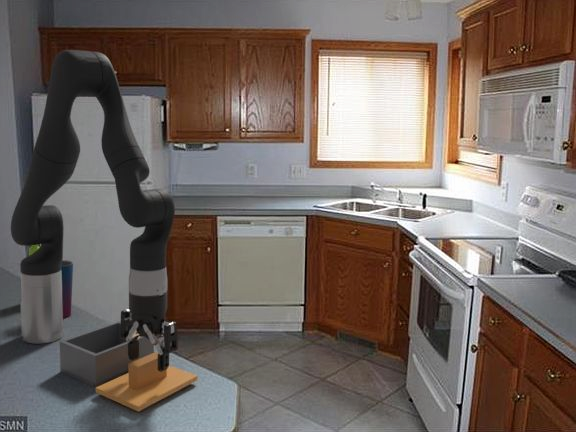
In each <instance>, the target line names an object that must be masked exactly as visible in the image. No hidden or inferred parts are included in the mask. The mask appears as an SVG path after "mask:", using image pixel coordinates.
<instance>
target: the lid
mask: <svg viewBox="0 0 576 432" xmlns="http://www.w3.org/2000/svg"><path fill="white" fill-rule="evenodd" d="M158 354H159V353H158V351H157V350H156V351H154V353H152V354H150V355H147V356H145V357H143V358H141V359H138V360H136V361H134V362H131V363H129V364H128V369H129V373H127V374H125V375H123V376H120V377H118V378H116V379H114V380H111V381H109V382H107V383H105V384H103V385H100V386H98V387H96V388H95V393H97V395H98V394H99V395H100V396H103V397H105V398H107V399H110V400H112V401H113V402H114V401H115V402H116V403H119V404H121V405H123V406H125V407H127V408H130V409H131V410H134V411H136V412H140V411H142V410H144V409H146V408H148V407H150V406H152V405H153V404H155V403H157V402H159V401H161V400H162V399H165V398H167V397H169V396H171V395H172V394H175V393H176V392H178V391H180V390H182V389H183V388H185V387H187V386H190V385H191V384H193V383H195V382H196V381H198V375H196V374H194V373H191V372H189V371H185V370H183V369H180V368H178V367H175V366H172V365H170V364H169V367H168V368H167V369H166V370H164V371H162V372H160V371H158Z"/></svg>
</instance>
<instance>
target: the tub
mask: <svg viewBox="0 0 576 432" xmlns="http://www.w3.org/2000/svg"><path fill="white" fill-rule="evenodd" d="M120 324H121V320H119V321H115V322H112V323H109V324H107V325H103V326H101V327H97V328H95V329H92V330H89V331H86V332H83V333H79V334H77V335H74V336H70V337H68V338H65V339H63V340H59V361H60V362H59V363H60V364H59V365H60V368H59V369H60V373H62V374H65V375H67V376H70V377H72V378H74V379H75V380H77V381H79V382H82V383H85V384H87V385H89V386H91V387H94V388H95V389H96V387H98V386H100V385H103V384H105V383H107V382H109V381H111V380H114V379H116V378H118V377H120V376H123V375H125V374H127V373H129V369H128V364H129V363H131V362H134V361H136V360H138V359H141V358H143V357H145V356H147V355H150V354H152V353H154V352H155V345H153V344H152V343H151V341H150V339H147V338H146V337H141V336H140V337H139V339H138V341H139V357H138V358H137V359H134V360H130V359H129V356H128V343H127V341H126V339H125V338H122V337H121V336H120ZM126 330H128V326H127V327H126Z"/></svg>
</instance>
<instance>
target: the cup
mask: <svg viewBox="0 0 576 432" xmlns="http://www.w3.org/2000/svg"><path fill="white" fill-rule="evenodd" d="M61 273H62V308H63V319H66V318H70V317H72V316H71V315H72V301H73V300H72V298H73V278H74V277H73V273H74V262H73V261H71V260H63V259H62V263H61Z"/></svg>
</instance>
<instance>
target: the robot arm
mask: <svg viewBox="0 0 576 432" xmlns="http://www.w3.org/2000/svg"><path fill="white" fill-rule="evenodd" d="M51 65H52V66H51V69H50V74H49V79H48V80H49V81H48V88H47V95H46V101H45V107H44V112H43V116H42V120H41V123H40V127H39V131H38V135H37V137H36V141H35V144H34V147H33V152H32V154H31V159H30V165H29V168H28V171H27V176H26V178H25V182H24V185H23V188H22V190H21V193H20V196H19V197H18V201H17V203H16V205H15V207H14V210H13V213H12V216H11V221H10V234H11V237H12V240H13V241H14V242H15V243H16V244H17V245H19V246H22V247H24V246H25V247H26V246H27V247H28V246H30V247H31V246H32V245H37V244H38V245H40V246H39V247H40V248H39V249H38V250H37V251H36V252H34V253H33V254H31V255H29V254H28V256H26V257H24V258H23V259H22V260H20V261H21V262H20V264H19V266H20V267H19V268H20V284H21V285H20V287H21V299H20V324H21V337H22V340H23V341H24V342H25V343H27V344H28V343H29V344H34V345H35V344H37V345H38V344H48V343H52V342H56V341H57V340H60V339H61V338H63V336H64V325H63V324H64V321H63V320H64V318H63V308H62V273H61V263H62V260H63V258H64V219H63V215H62V212H61V210H60V209H59V207H57V206H56V205H45V203H46V202H47V201H48V200H49V198H51V196H53V195H54V194H55V193H56V192H57V191H59V190H60V189H62V188H63V186H64V185H65V184H66V183H67V182H68V181H69V180H70V179H71V177H72V175H73V174H74V173H75V169H76V166H77V163H78V160H79V156H80V153H81V142H80V140H79V137H78V135H77V132H76V130H75V128H74V126H73V123H72V119H71V116H72V115H71V114H72V110H73V105H74V102H75V101H76V99H77V98H95V99H97V101H98V103H99V104H100V106H101V108H102V111H103V115H104V116H103V126H102V133H101V140H100V141H101V151H102V154H103V156H104V159H105V162H106V163H107V165H108V168H109V171H110V172H111V174H112V177H113V179H114V182H115V189H116V195H117V201H118V209H119V214H120V215H121V218H122V219H123V220H124V222H125V223H127V224H128V225H129V226H131V227H133V228H140V229H141V228H144V230H143V233H142V234H140V235H139V236H137V237H135V238H133V240H131V242H130V246H129V274H128V308H126V309H123V310H121V311H120V322H121V324H120V336H121V337H122V338H125V339H126V341H127V343H128V356H129V359H130V360H134V359H137V358H138V357H139V341H138V339H139V337H140V336H141V337H146V338H147V339H150V341H151V343H152V344H153V345H154V348H156V352H157V351H158V353H159V354H158V371H160V372H162V371H164V370H166V369H167V368H168V367H169V365H170V354H171V353H174V352H176V351H178V348H179V347H178V324H177V322H176V321H172V322H167V321H166V318H165V314H166V312H167V310H168V272H167V245H168V241H169V238H170V234H171V232H172V227H173V224H174V219H175V213H176V207H175V202H174V199H173V198H172V195H171V194H170V193H169V192H168V191H167V190H166V189H161V188H153V189H142V187H141V183H143V182H145V180H147V178H149V176H150V171H151V170H150V168H149V165H148V163H147V160H146V158H145V156H144V154H143V151H142V150H141V148H140V145H139V143H138V141H137V139H136V136H135V134H134V131H133V129H132V127H131V124H130V121H129V117H128V113H127V110H126V106H125V102H124V98H123V95H122V92H121V89H120V85H119V81H118V79H117V78H118V77H117V74H116V72H115V69H114V67H113V64H112V63H111V60H110V59H109V58H108V57H107V56H106V55H105V54H104V53H102V52H98V51H93V50H92V51H89V50H78V49H75V50H74V49H64V50H61V51H59V52H58V53H57V54H56V56H55V58H54V60H53V61H52V64H51ZM127 326H128V330H126V327H127ZM159 336H160V337H159ZM157 337H159V338H157ZM162 345H163V346H162Z"/></svg>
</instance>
